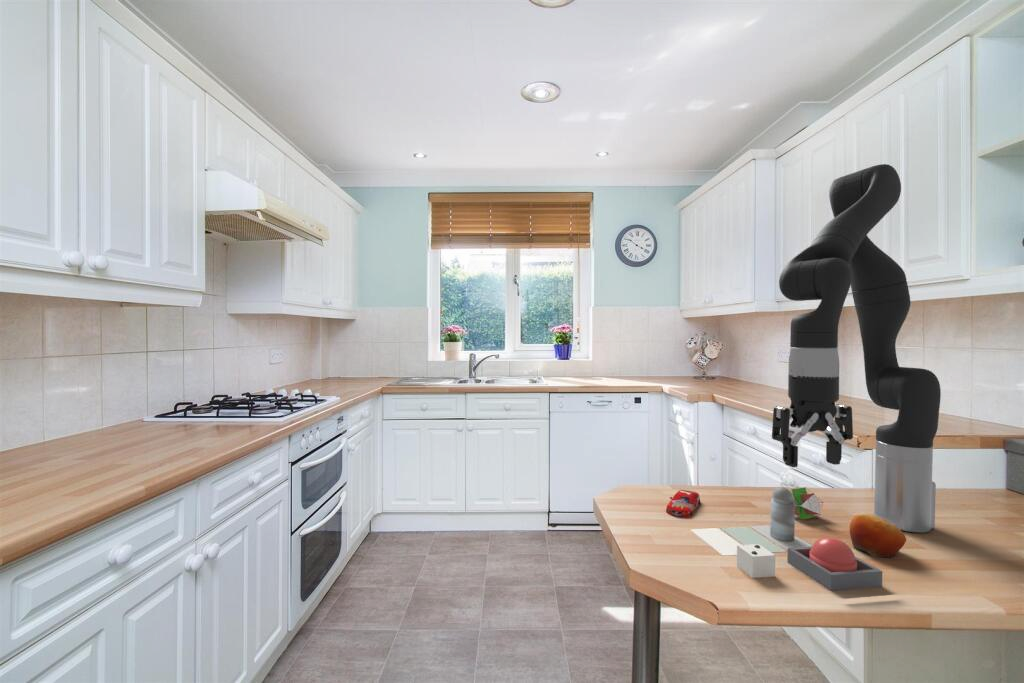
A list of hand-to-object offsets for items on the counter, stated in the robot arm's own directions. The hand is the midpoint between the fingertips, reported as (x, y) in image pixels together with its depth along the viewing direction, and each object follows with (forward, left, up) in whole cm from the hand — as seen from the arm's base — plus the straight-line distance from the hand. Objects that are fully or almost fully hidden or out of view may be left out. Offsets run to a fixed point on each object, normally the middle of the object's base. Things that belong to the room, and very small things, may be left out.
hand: (812, 464), depth 82 cm
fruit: (-14, 0, -17) cm, 22 cm away
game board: (+6, -7, -17) cm, 19 cm away
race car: (+11, -24, -17) cm, 32 cm away
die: (+13, +4, -17) cm, 22 cm away
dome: (+1, +6, -16) cm, 18 cm away
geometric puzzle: (-13, -16, -17) cm, 27 cm away
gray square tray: (+1, +6, -17) cm, 18 cm away
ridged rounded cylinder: (0, -7, -16) cm, 18 cm away
